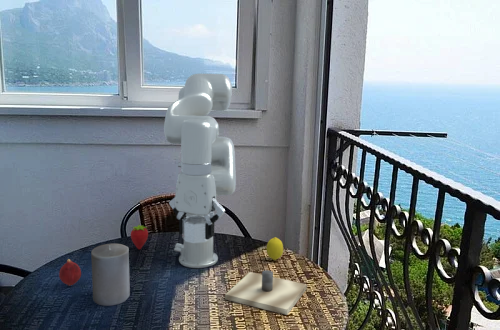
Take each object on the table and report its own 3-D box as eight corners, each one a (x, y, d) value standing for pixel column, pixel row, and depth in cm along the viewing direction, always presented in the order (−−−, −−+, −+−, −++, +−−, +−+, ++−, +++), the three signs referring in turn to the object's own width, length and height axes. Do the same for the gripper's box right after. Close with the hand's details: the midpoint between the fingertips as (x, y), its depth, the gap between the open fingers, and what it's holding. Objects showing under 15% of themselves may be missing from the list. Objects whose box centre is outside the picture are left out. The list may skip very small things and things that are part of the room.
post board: (225, 299, 125) (225, 277, 124) (249, 276, 139) (250, 256, 138) (287, 314, 118) (288, 291, 116) (306, 289, 132) (307, 268, 131)
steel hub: (177, 239, 118) (177, 221, 117) (192, 231, 124) (192, 213, 123) (201, 244, 115) (201, 225, 114) (214, 235, 121) (214, 217, 120)
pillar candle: (88, 294, 126) (85, 243, 123) (122, 285, 132) (120, 236, 128) (100, 310, 118) (98, 255, 115) (136, 299, 124) (134, 247, 121)
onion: (86, 283, 132) (84, 257, 131) (70, 292, 127) (69, 265, 126) (71, 279, 135) (69, 253, 133) (55, 287, 130) (53, 261, 128)
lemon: (281, 264, 149) (282, 241, 147) (264, 262, 150) (265, 239, 148) (283, 257, 154) (284, 235, 152) (267, 256, 155) (268, 233, 153)
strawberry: (148, 244, 163) (148, 217, 161) (148, 253, 155) (147, 224, 153) (131, 245, 162) (131, 218, 160) (130, 253, 154) (129, 225, 152)
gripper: (159, 167, 116) (160, 234, 120) (219, 175, 109) (218, 246, 113) (175, 162, 123) (176, 225, 126) (233, 169, 115) (232, 236, 119)
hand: (196, 234), depth 119 cm, fingers closed on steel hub, 7 cm apart
